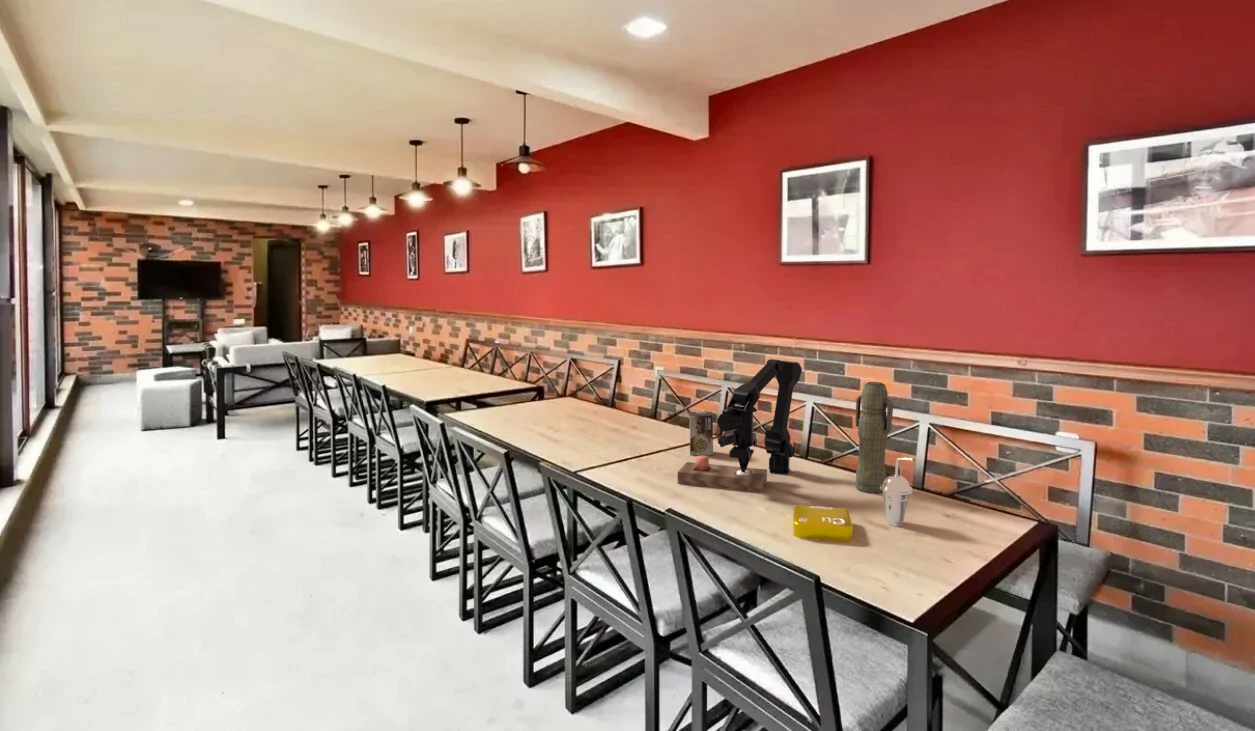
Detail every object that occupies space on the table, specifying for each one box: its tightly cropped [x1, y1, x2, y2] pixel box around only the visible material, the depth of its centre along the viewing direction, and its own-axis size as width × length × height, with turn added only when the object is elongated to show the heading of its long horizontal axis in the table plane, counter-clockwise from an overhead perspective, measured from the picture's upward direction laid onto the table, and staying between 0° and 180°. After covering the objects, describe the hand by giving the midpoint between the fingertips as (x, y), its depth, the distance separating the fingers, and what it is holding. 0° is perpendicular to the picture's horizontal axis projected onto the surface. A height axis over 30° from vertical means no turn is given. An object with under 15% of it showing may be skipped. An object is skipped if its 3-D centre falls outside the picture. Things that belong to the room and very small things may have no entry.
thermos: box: [855, 381, 894, 495], centre depth 203 cm, size 9×12×35 cm
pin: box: [736, 470, 750, 476], centre depth 211 cm, size 4×4×4 cm
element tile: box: [792, 504, 854, 543], centre depth 173 cm, size 15×15×5 cm
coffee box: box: [689, 411, 714, 456], centre depth 248 cm, size 9×6×16 cm
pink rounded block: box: [695, 455, 710, 471], centre depth 215 cm, size 4×4×4 cm
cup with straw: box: [880, 456, 915, 527], centre depth 176 cm, size 8×9×20 cm
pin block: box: [677, 461, 768, 493], centre depth 214 cm, size 28×12×4 cm, turn 70°
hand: (743, 471), depth 211 cm, fingers closed, pressing on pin
